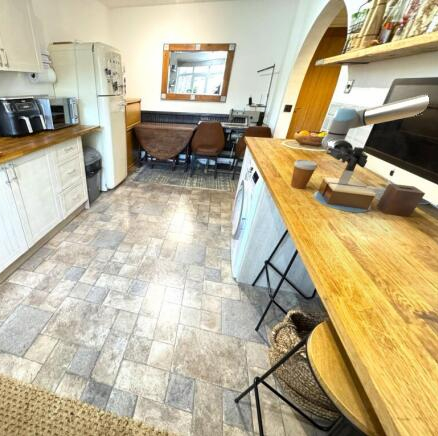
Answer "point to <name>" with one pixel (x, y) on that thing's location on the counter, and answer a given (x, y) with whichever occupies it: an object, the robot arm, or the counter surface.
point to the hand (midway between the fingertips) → (359, 163)
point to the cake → (345, 195)
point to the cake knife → (350, 167)
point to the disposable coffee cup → (302, 173)
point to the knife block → (400, 200)
